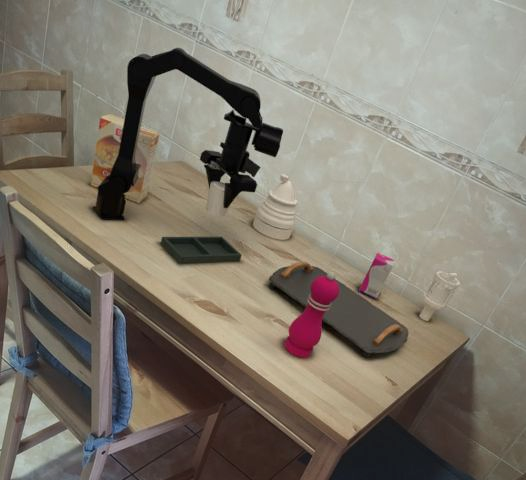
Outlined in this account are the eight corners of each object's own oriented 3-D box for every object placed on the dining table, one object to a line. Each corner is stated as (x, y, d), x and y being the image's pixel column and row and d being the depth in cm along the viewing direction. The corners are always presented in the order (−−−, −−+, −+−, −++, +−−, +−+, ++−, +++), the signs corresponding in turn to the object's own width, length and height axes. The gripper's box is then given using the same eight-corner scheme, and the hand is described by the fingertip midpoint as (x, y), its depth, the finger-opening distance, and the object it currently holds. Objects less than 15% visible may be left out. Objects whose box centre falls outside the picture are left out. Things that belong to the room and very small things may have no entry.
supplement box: (378, 292, 154) (395, 259, 148) (375, 300, 149) (393, 266, 143) (361, 284, 154) (377, 251, 148) (357, 291, 149) (375, 257, 143)
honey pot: (258, 235, 159) (277, 180, 149) (248, 217, 168) (266, 164, 158) (294, 242, 164) (315, 190, 154) (283, 225, 173) (302, 174, 164)
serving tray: (256, 281, 133) (263, 260, 130) (306, 269, 150) (314, 250, 147) (372, 368, 117) (384, 347, 114) (414, 344, 134) (425, 325, 131)
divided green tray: (179, 264, 127) (181, 256, 126) (160, 243, 132) (161, 236, 131) (239, 261, 139) (241, 254, 138) (219, 243, 145) (222, 236, 144)
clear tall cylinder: (439, 322, 151) (466, 280, 143) (427, 326, 146) (454, 282, 138) (420, 309, 154) (446, 267, 146) (408, 312, 149) (434, 268, 141)
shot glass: (230, 211, 139) (237, 187, 135) (225, 220, 133) (233, 195, 129) (206, 202, 138) (213, 178, 135) (201, 210, 133) (208, 185, 129)
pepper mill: (280, 336, 115) (313, 259, 105) (310, 343, 117) (345, 268, 106) (284, 355, 110) (319, 276, 99) (314, 362, 111) (352, 285, 101)
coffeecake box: (89, 185, 147) (99, 116, 136) (99, 179, 153) (109, 112, 142) (138, 203, 148) (152, 137, 137) (147, 197, 154) (160, 132, 143)
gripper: (282, 162, 126) (261, 219, 135) (241, 133, 136) (224, 188, 145) (247, 157, 119) (228, 218, 127) (207, 127, 129) (191, 185, 137)
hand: (218, 201), depth 134 cm, fingers closed on shot glass, 6 cm apart
